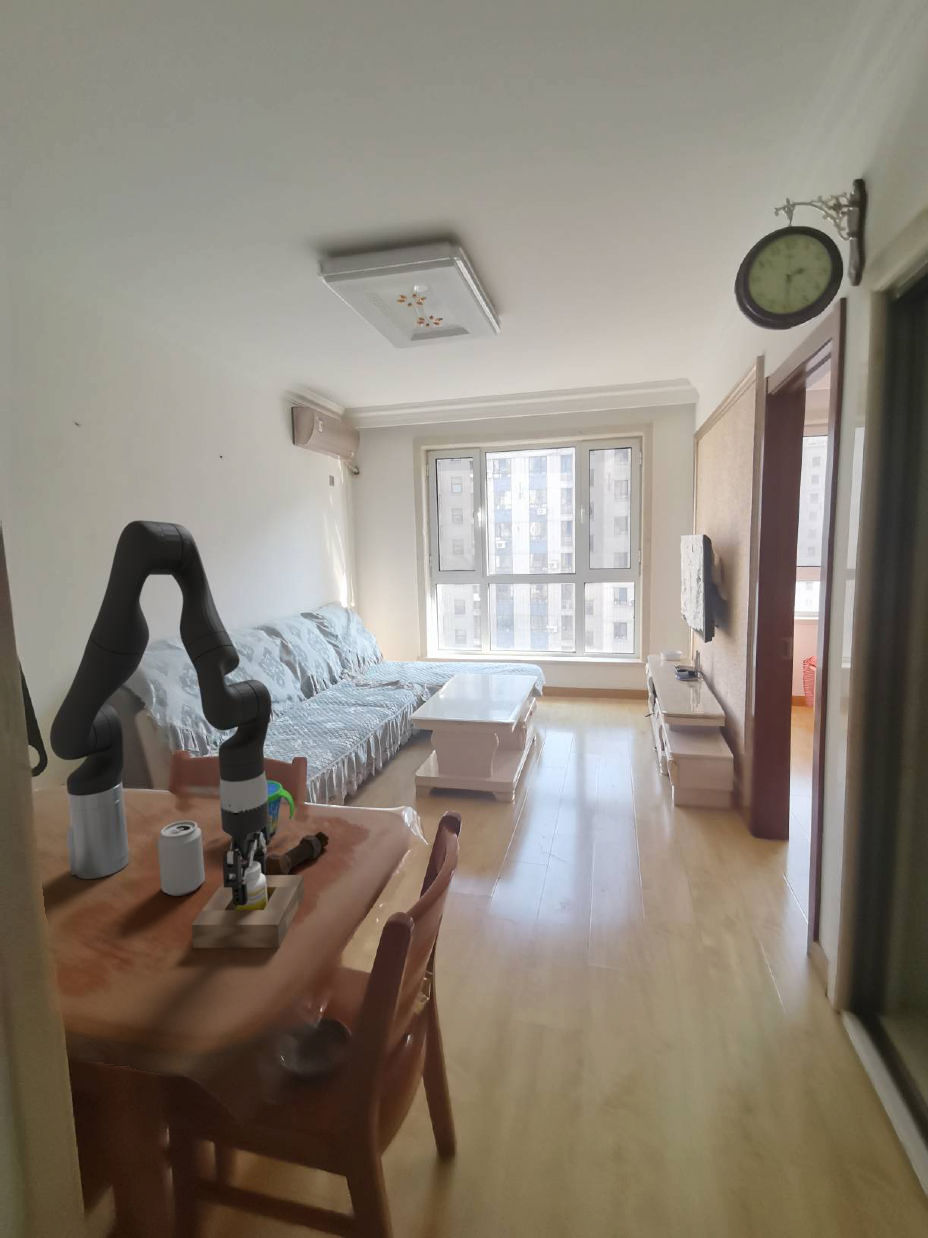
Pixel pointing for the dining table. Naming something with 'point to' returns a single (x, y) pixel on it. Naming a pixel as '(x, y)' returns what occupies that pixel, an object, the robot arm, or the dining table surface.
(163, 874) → the can
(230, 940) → the socket block
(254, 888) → the supplement bottle
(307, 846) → the bolt
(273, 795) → the snack cup
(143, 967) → the dining table surface
